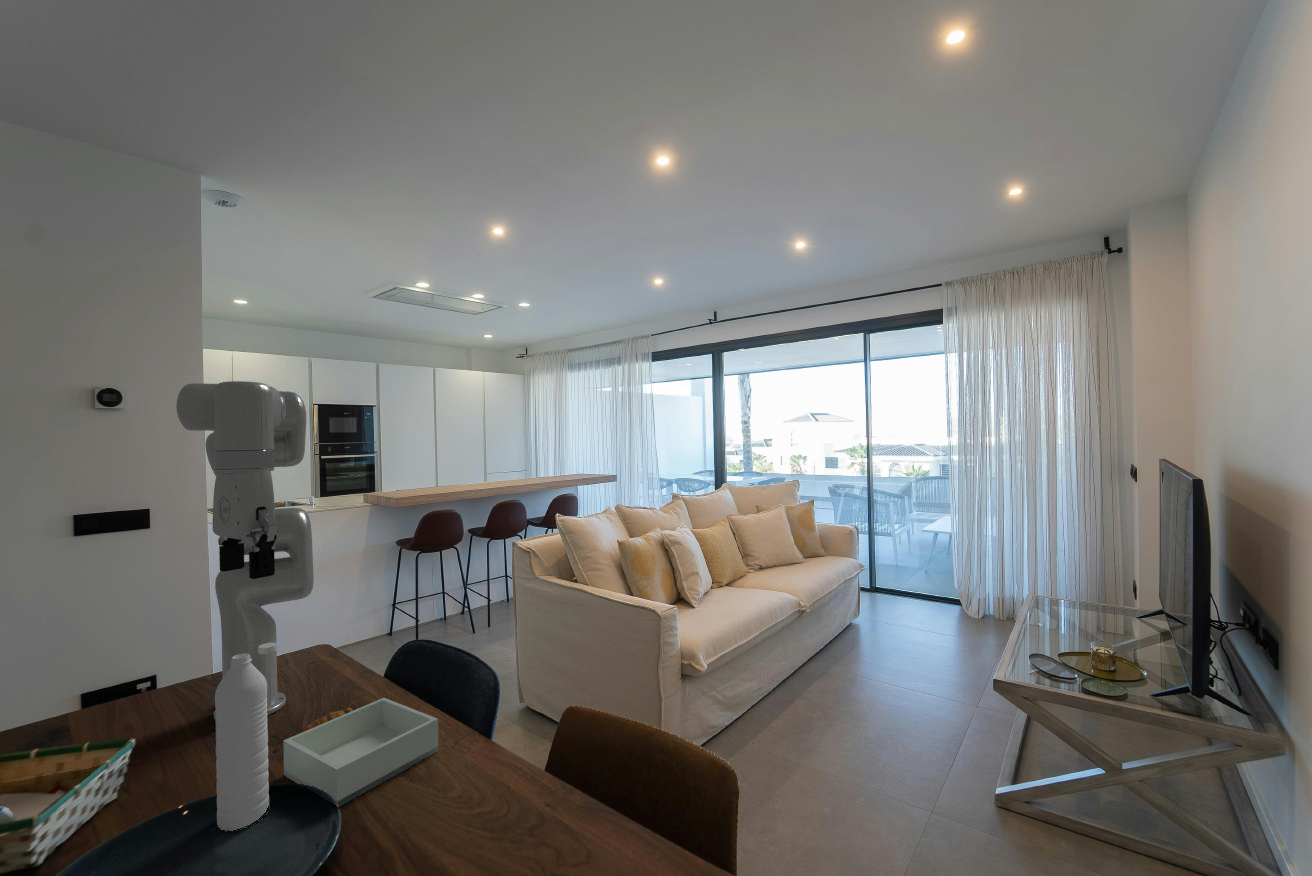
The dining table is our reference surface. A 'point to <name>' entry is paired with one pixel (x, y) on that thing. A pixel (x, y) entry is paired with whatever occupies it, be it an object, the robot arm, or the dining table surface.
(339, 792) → the bin
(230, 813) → the water bottle
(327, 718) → the pastry
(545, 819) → the dining table surface
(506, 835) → the dining table surface
